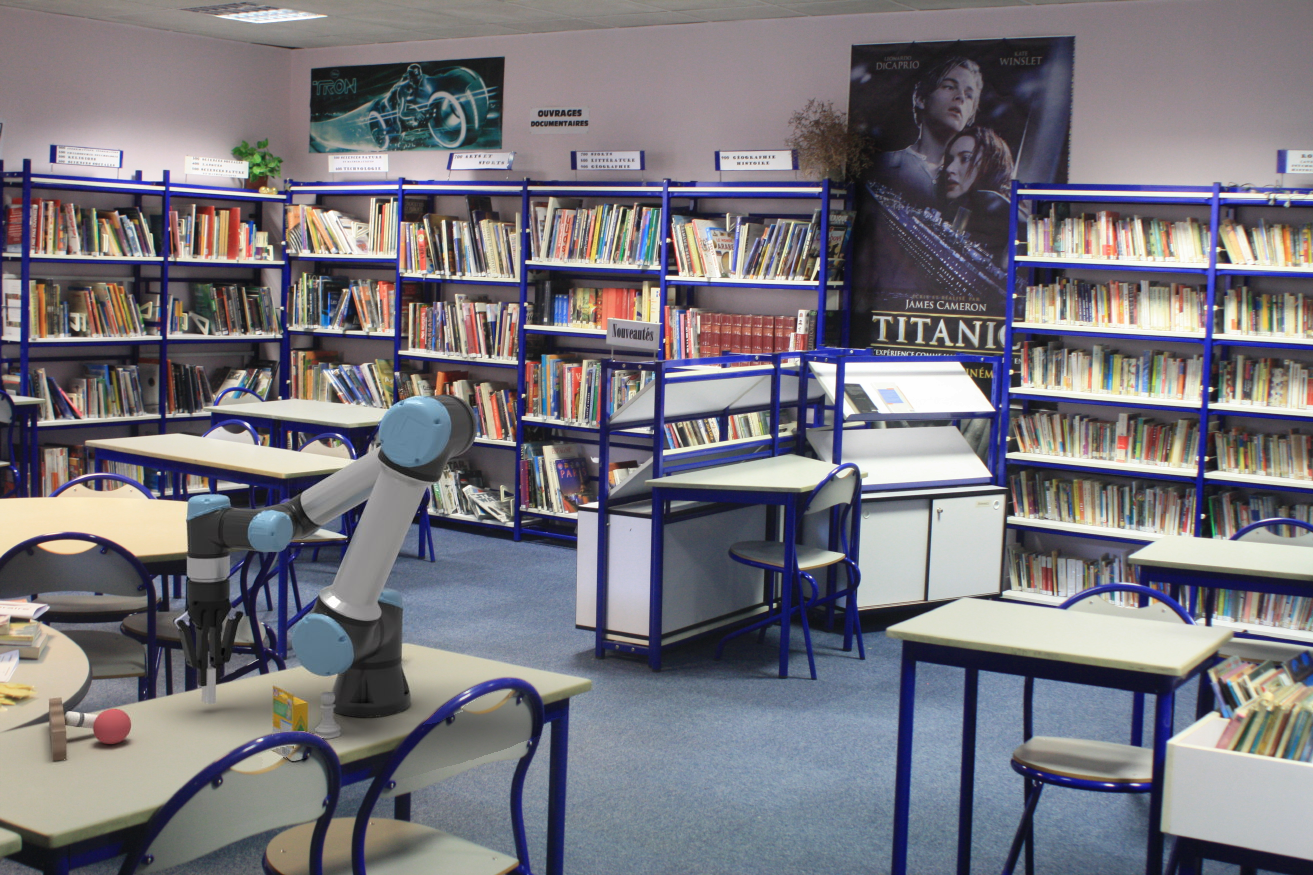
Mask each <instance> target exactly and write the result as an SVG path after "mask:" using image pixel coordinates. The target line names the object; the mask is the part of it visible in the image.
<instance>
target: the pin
mask: <svg viewBox="0 0 1313 875" xmlns="http://www.w3.org/2000/svg"><path fill="white" fill-rule="evenodd" d="M98 715H99V714H95V713H94V714H93V713H85V712H80V711H71V710H70V711H66V713H65V714H64V719H65V726H66V727H67V726H68V727H75V728H85V729H92V730H93V725H94V721H95V719H96V718H97V716H98Z"/></svg>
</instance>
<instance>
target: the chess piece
mask: <svg viewBox="0 0 1313 875" xmlns="http://www.w3.org/2000/svg"><path fill="white" fill-rule="evenodd" d="M320 701H321V703H322V704H320V706H319V708H321V709H322V710H321V711H322V712H321V713H322V719H321V721H320V723H319V725H317V726H316V727H315V729H314V730H315V732H314V733H315V734H317V735H319V736H321V737H323V738H324V739H323V740H332V739H337V738H338V737H340V736H341V734H342V731H341V730H340V729H341V726H339V725H338V724H337V722H336V721H335V718H334V711H333V709H334V707H335V706H336V705H335V704H332V703H333V702H334V701H335V695H334V693H332V691H324V692H322V693H321V695H320Z"/></svg>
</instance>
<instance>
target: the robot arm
mask: <svg viewBox="0 0 1313 875" xmlns="http://www.w3.org/2000/svg"><path fill="white" fill-rule="evenodd" d="M478 426H479V425H478V418H477V415H476V413H475V411H474V409H473V408H472V406H471V405H470V404H469V403H468V402H467V401H465V399H463V398H461V397H458V396H456V395H453V394H437V395H429V396H427V395H416V396H411V397H410V396H409V397H408V398H405V399H403V400H400V401H398V402H396V403H395V404H393V405H391V407H389V409H388V410H387V411H385V413H384V415H383V417H382V419H381V420H380V424H379V428H378V440H379V442H380V445H379V446H378V447H376V448H375V449H372V450H370V451H369V452H367V453H366V454H365V455H364V454H363V456H361V457H359V458H358V459H356V460H355V461H352V462H350V463H349V464H348V465H346V466H345V467H342V468H341V469H340V470H337V471H336V472H334V473H332V474H331V475H329V476H328V477H325V478H324V479H322V480H321V481H319V482H318V483H316V484H314V485H312V486H311V487H309V488H307V489H305V490H304V491H302V492H301V493H299V494H297V495H296V496H294V497H292V498H290V499H289V500H287V501H285V502H282V503H279V504H274V505H270V506H269V505H268V506H266V507H265V506H264V507H260V508H256V509H254V508H250V509H249V508H237V507H231V506H232V505H231V500H230V498H229V496H227V495H223V494H200V495H194V496H192V497H190V498H189V499H188V501H187V510H186V511H187V512H186V519H185V522H186V538H187V540H186V541H187V543H186V544H187V551H186V552H187V553H186V576H187V577H188V580H187V581H186V599H187V604H186V607H185V609H184V613H183V614H182V615H180V616H179V617H174V618H173V619H172V624H173V625H174V626H175V628H176V629H177V631H178V634H179V639H180V643H181V645H182V646H181V647H182V652H183V654H184V655H183V656H184V658H185V661H186V662H185V663H186V665H187V666H188V667H191V668H193V669H196V672H197V673H196V674H197V675H196V676H197V677H196V678H197V679H196V680H197V681H196V682H197V685H198V686H200V687H201V701H202V702H203V703H205V704H207V705H211V704H215V703H216V702H217V701H216V700H217V699H216V697H217V692H216V690H217V687H216V686H217V684H220V683H221V682H220V681H221V669H222V668H223V666H224V664H225V663H229V662H230V661H231V658H232V654H233V649H234V645H235V644H234V643H235V640H236V637H237V636H236V635H237V631H238V628H239V624H240V622H241V620H242V619H243V616H244V612H243V611H241V610H240V609H239V610H238V609H236V608H234V607H233V605H232V603H231V601H230V600H231V599H230V595H231V593H230V592H231V581H230V578H229V576H230V574H231V564H230V563H231V552H230V551H231V550H244V551H255V552H261V553H269V552H270V553H271V552H272V553H274V552H275V553H278V552H282V551H284V550H285V549H286V548H287V546H289V545H290V544H291V542H292V541H298V540H302V539H306V538H309V537H311V536H312V535H314V534H316V533H317V532H318V531H319V530H321V528H322V526H324V525H326V524H328V523H329V522H331V521H333V520H334V519H336V518H338V517H339V516H341V515H343V514H345V513H346V512H348V511H350V510H352V509H353V508H355V507H357V506H359V505H361V504H362V503H364V502H365V501H367V502H366V504H365V507H364V509H363V512H362V513H361V516H360V519H359V521H358V523H357V525H356V529H354V532H353V535H352V537H351V540H350V543H349V544H348V546H347V549H346V552H345V554H344V556H343V559H342V560H341V564H340V565H339V568H338V571H337V573H336V575H335V578H334V579H333V583H332V584H331V585H328V586H324V587H323V588H321V589H320V591H319V594H318V596H317V598H316V600H315V602H314V605H313V608H312V609H311V612H310V613H309V614H307V615H304V616H303V617H302V619H300V620H299V621H298V622H297V623H296V624H295V626H294V627H293V631H292V635H291V646H292V651H293V652H294V654H295V656H296V660H297V661H298V662H299V663H300V665H301V666H302V667H303V668H304V669H305V670H307V671H308V672H310V673H311V674H313V675H316V676H319V677H331V676H335V675H336V679H335V681H334V683H333V687H332V690H331V692H332V693H334V695H335V701H334V702H333V703H332V704H335V705H336V706H335V707H334V709H333V713H337V714H340V715H342V716H348V717H355V718H356V717H357V718H370V717H371V718H375V717H384V716H389V715H394V714H397V713H400V712H403V711H405V710H407V709H409V707H410V706H411V690H410V686H409V684H408V683H409V682H408V681H407V677H406V674H405V671H404V667H403V660H402V659H403V658H402V656H403V619H404V618H403V617H404V616H403V614H404V612H403V611H404V606H403V596H402V593H401V592H400V591H399V590H397V589H394V588H388V587H387V588H386V587H385V585H386V583H387V580H388V578H389V576H390V573H391V571H392V569H393V567H394V564H395V562H396V560H397V558H398V555H399V553H400V550H401V548H402V546H403V543H404V541H405V538H406V536H407V535H408V532H409V529H410V527H411V525H412V523H413V520H414V518H415V516H416V514H417V511H418V509H419V507H420V504H421V502H422V499H423V498H424V495H425V493H426V490H427V488H428V487H430V486H432V485H435V484H438V483H439V482H440V481H441V478H442V475H443V474H444V470H445V468H446V467H447V464H448V461H449V460H450V459H451V458H454V457H458V456H460V455H462V454H464V453H465V452H466V451H468V450H469V449H470V448H471V446H472V445H473V443H474V442H475V439H476V438H477V435H478V429H479V428H478ZM226 618H227V620H226ZM225 620H226V623H225V627H224V631H223V622H225ZM190 621H191V623H192V624H193V625H194V631H195V643H194V641H193V637H192V636H193V635H192V633H191V630H190V627H189V626H190ZM222 632H223V637H222ZM194 644H195V645H194Z"/></svg>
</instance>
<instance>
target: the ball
mask: <svg viewBox="0 0 1313 875" xmlns="http://www.w3.org/2000/svg"><path fill="white" fill-rule="evenodd" d="M97 715H98V716H97V718H96V719H95V721H94V725H93V729H92V731H93V735H94V737H95V738H96V739H97V740H98V741H99V742H101V743H102V744H106V745H115V744H118V743H121V742H122V741H124V740H125V739H126V738H127V737H128V736H129V734H130V732H131V729H132V722H131V718H130V716H129V715H128V714H127V712H126V711H124V710H122V709H118V708H109V709H106V710H103V711H102V712H101V713H99V714H97Z"/></svg>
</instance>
